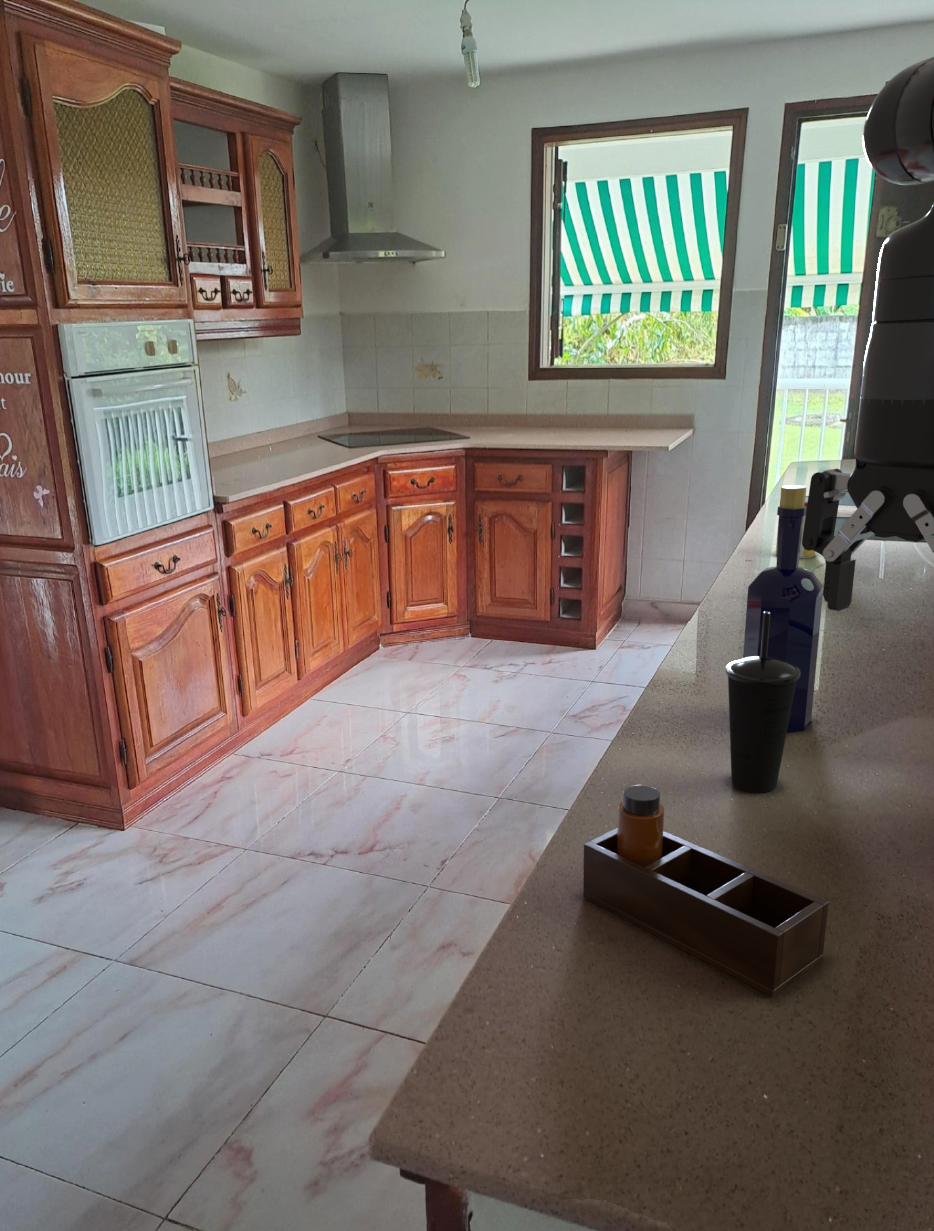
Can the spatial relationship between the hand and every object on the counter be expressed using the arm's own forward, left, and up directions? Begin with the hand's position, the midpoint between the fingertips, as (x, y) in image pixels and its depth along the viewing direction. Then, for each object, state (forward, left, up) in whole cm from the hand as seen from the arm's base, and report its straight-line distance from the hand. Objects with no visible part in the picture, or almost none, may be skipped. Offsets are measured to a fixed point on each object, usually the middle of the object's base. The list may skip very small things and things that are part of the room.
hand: (892, 618), depth 74 cm
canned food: (-123, -82, -28) cm, 151 cm away
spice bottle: (+8, -16, -27) cm, 33 cm away
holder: (+8, -10, -28) cm, 31 cm away
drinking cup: (-20, -23, -28) cm, 42 cm away
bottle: (-38, -32, -28) cm, 57 cm away
